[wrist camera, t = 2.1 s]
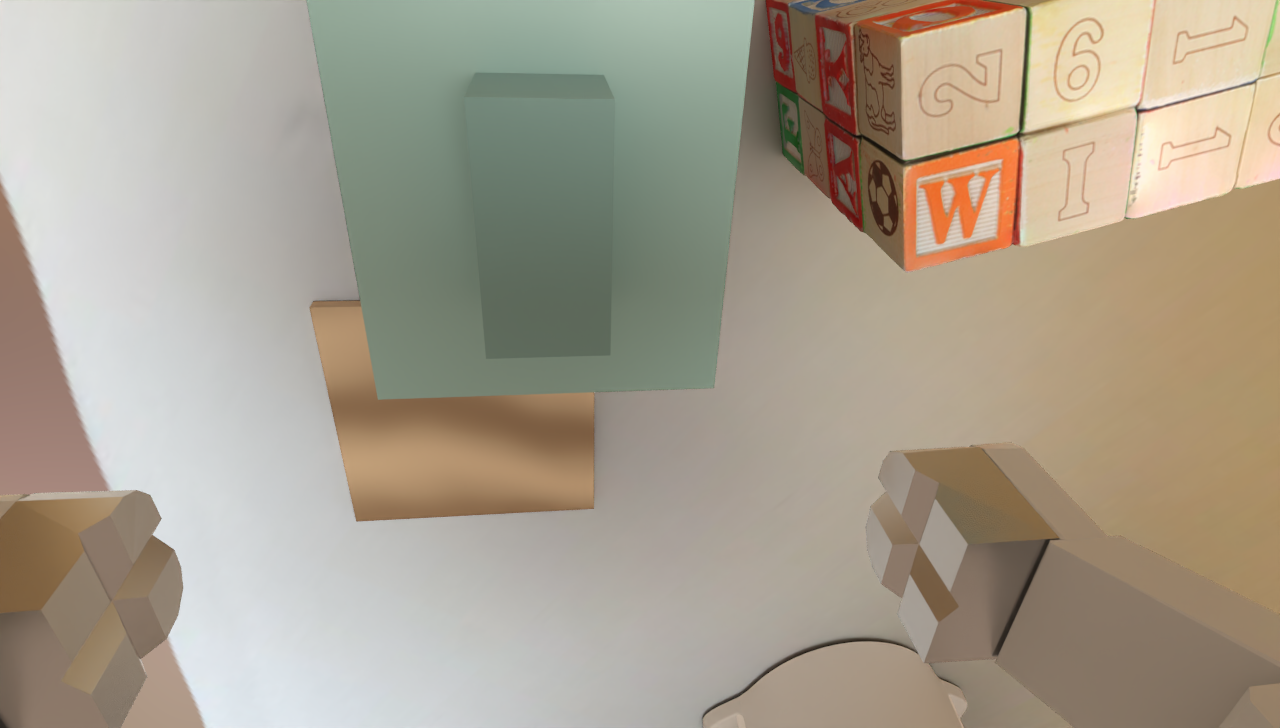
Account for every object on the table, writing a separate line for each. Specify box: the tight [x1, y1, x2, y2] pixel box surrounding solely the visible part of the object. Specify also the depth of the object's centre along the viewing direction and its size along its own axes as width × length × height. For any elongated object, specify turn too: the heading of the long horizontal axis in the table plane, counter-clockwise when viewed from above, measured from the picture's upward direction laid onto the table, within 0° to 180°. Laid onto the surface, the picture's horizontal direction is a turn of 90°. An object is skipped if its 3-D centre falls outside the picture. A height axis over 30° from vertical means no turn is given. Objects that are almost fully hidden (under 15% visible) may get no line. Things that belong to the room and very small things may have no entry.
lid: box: [307, 0, 755, 400], centre depth 18 cm, size 12×10×5 cm
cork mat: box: [310, 301, 594, 521], centre depth 34 cm, size 12×12×1 cm
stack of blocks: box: [766, 0, 1280, 272], centre depth 23 cm, size 21×6×12 cm, turn 102°
